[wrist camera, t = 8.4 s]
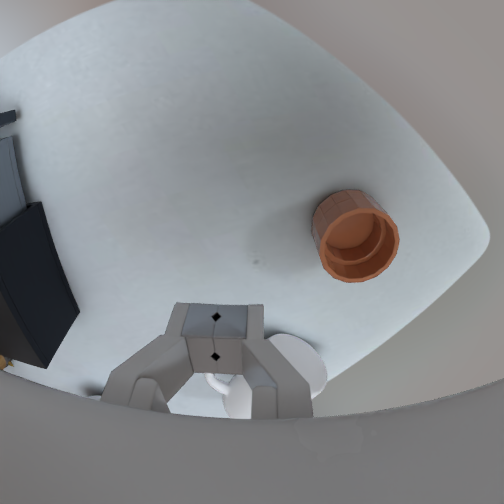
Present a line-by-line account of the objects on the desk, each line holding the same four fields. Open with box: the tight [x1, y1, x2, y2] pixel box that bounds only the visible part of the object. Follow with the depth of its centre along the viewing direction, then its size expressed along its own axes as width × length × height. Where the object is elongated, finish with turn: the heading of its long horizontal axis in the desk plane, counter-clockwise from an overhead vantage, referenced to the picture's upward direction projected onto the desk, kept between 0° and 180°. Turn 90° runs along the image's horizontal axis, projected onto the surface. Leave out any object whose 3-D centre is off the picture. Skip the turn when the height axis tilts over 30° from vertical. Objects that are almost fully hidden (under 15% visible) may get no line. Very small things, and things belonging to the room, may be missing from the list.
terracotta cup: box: [311, 190, 399, 283], centre depth 23 cm, size 6×6×4 cm
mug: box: [205, 334, 327, 419], centre depth 31 cm, size 12×10×8 cm
